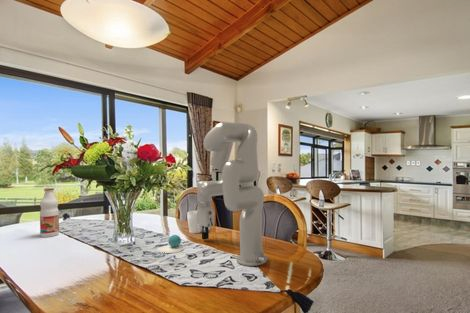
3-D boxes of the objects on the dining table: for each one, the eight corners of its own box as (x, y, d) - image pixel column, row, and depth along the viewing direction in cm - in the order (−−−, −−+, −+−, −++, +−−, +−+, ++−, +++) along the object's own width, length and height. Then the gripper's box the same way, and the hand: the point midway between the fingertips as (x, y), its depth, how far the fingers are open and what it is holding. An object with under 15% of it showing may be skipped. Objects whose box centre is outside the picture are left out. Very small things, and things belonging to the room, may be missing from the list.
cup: (195, 234, 164) (194, 213, 164) (184, 232, 170) (183, 212, 170) (205, 231, 171) (205, 211, 172) (195, 229, 177) (194, 209, 177)
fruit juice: (62, 234, 172) (61, 187, 172) (46, 238, 163) (45, 189, 163) (53, 232, 176) (52, 187, 176) (36, 236, 168) (36, 188, 168)
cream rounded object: (189, 249, 138) (189, 249, 138) (164, 255, 129) (164, 255, 129) (176, 243, 148) (176, 243, 148) (152, 249, 139) (152, 248, 139)
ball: (180, 250, 141) (184, 238, 142) (170, 247, 137) (175, 234, 139) (174, 246, 145) (178, 235, 147) (164, 243, 142) (169, 232, 143)
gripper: (218, 205, 148) (219, 240, 148) (202, 202, 160) (203, 234, 159) (206, 206, 143) (207, 243, 143) (191, 203, 155) (191, 237, 155)
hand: (205, 238), depth 151 cm, fingers closed
